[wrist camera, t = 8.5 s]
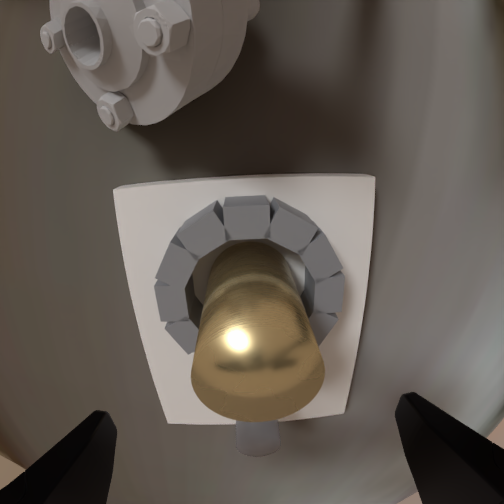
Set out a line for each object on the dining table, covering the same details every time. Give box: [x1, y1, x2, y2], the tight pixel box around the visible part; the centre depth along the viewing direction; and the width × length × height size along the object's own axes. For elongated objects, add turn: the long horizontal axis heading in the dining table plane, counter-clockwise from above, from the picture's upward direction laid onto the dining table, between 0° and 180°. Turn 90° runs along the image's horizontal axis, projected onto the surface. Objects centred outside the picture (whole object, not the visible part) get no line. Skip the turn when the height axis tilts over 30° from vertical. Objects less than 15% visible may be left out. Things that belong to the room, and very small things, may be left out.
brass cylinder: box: [191, 241, 325, 422], centre depth 13 cm, size 4×4×8 cm
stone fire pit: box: [113, 173, 375, 457], centre depth 17 cm, size 14×18×6 cm
